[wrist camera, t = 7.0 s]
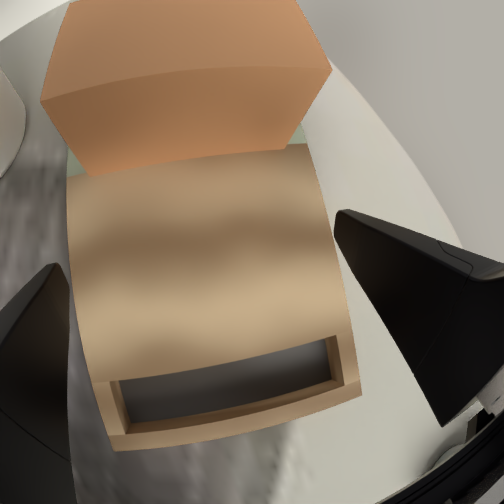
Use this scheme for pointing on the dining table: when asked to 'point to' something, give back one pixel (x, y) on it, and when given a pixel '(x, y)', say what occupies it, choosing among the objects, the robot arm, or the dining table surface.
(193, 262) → the box
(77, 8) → the block
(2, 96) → the alcohol
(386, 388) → the dining table surface
